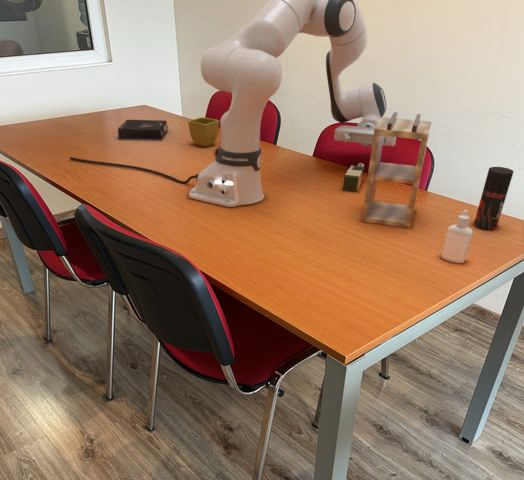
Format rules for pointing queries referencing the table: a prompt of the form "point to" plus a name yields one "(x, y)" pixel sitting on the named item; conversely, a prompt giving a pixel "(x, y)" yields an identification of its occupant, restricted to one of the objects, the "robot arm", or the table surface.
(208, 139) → the flower pot
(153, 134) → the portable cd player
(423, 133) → the bottle rack
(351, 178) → the bottle
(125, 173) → the table surface
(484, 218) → the deodorant
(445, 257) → the eye dropper bottle
